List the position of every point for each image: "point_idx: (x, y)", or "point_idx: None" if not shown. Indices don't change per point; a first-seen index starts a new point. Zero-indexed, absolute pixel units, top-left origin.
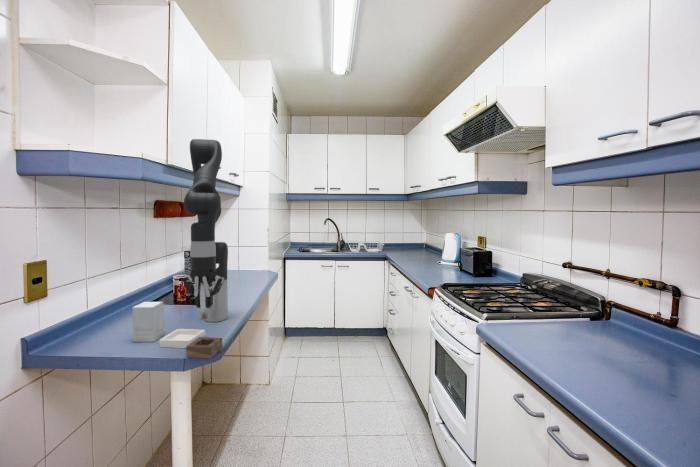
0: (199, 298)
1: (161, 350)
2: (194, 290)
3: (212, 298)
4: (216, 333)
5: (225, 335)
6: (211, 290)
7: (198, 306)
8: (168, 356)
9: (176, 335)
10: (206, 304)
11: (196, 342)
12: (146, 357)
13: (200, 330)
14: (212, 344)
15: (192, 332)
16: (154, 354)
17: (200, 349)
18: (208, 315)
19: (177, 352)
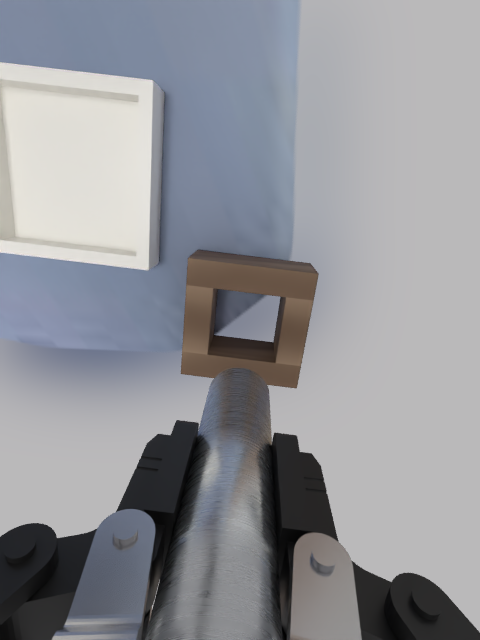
0: None
1: (46, 281)
2: (42, 618)
3: (330, 526)
4: (211, 32)
5: (279, 73)
6: (336, 635)
7: None
8: (113, 340)
9: (1, 110)
10: None
11: (206, 329)
12: (34, 344)
13: (127, 94)
14: (294, 356)
15: (79, 91)
16: (45, 319)
17: None
18: (269, 400)
19: (128, 304)
